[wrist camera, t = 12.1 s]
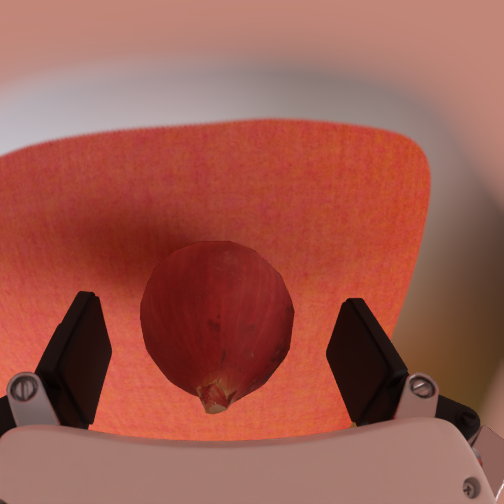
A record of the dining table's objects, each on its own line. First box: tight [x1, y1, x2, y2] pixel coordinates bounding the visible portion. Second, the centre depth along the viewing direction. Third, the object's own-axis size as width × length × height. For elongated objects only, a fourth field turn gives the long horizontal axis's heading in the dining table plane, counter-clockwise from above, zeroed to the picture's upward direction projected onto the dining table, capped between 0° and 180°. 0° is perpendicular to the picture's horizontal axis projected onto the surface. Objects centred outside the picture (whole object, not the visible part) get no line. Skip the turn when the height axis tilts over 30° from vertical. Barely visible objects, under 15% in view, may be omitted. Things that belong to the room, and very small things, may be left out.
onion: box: [140, 241, 294, 414], centre depth 11 cm, size 6×6×8 cm
